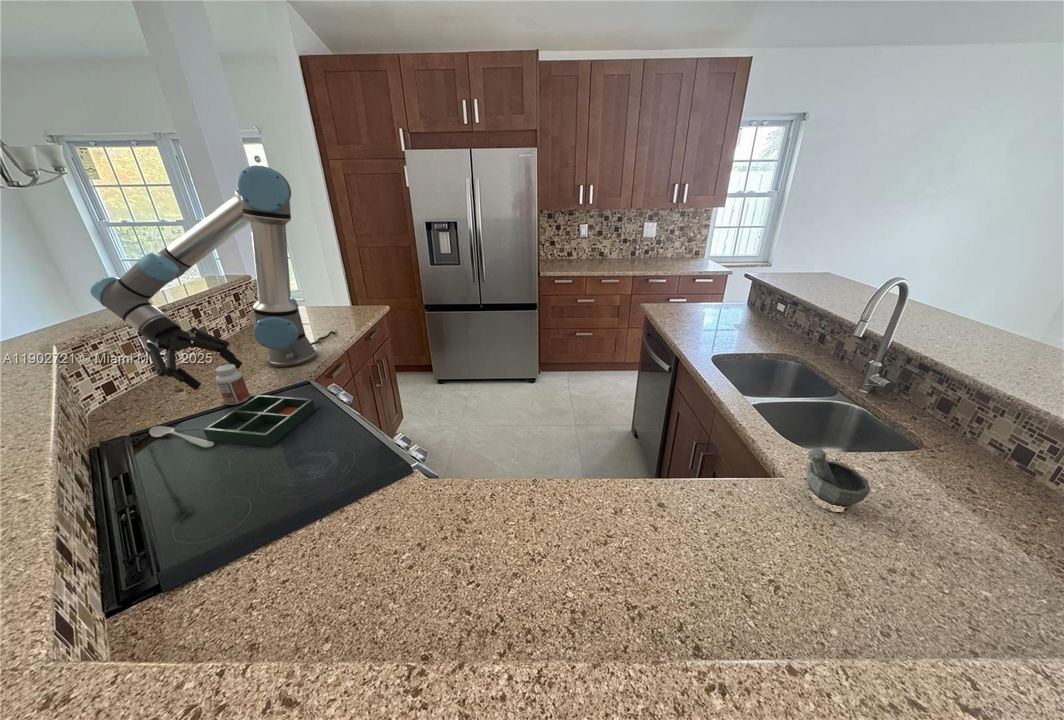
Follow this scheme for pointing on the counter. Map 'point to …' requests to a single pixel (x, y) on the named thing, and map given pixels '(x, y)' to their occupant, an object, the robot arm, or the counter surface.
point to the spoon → (163, 430)
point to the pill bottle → (231, 385)
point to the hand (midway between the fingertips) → (220, 376)
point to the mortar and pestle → (835, 481)
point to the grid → (260, 420)
